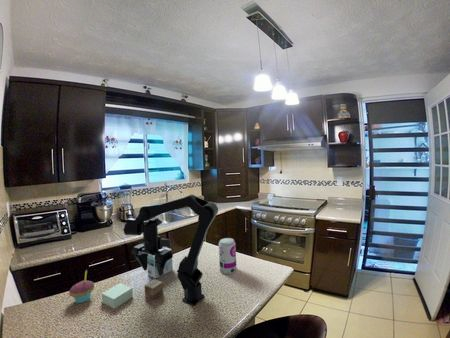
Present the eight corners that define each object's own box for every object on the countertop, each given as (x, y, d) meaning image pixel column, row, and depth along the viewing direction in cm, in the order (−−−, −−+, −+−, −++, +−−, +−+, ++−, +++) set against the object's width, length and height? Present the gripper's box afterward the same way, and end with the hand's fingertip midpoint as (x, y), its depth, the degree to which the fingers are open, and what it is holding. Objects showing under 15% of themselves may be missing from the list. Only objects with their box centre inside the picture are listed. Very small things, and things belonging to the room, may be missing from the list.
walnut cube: (163, 293, 89) (162, 282, 89) (153, 300, 85) (152, 288, 85) (154, 290, 92) (154, 279, 92) (145, 297, 88) (144, 285, 88)
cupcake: (92, 290, 94) (90, 263, 93) (97, 299, 88) (95, 270, 87) (68, 300, 88) (66, 271, 87) (72, 309, 82) (70, 279, 81)
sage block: (132, 297, 88) (132, 287, 88) (114, 309, 81) (113, 299, 81) (120, 292, 92) (120, 283, 92) (102, 303, 85) (101, 293, 85)
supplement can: (239, 268, 107) (238, 239, 107) (231, 276, 100) (229, 244, 100) (225, 265, 112) (224, 236, 111) (216, 272, 105) (215, 242, 104)
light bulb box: (155, 279, 101) (154, 257, 100) (147, 275, 105) (145, 253, 104) (173, 269, 109) (172, 248, 109) (165, 266, 113) (164, 246, 113)
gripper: (181, 232, 90) (183, 269, 90) (151, 226, 99) (153, 260, 100) (160, 241, 80) (163, 282, 81) (129, 234, 90) (132, 271, 91)
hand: (153, 272), depth 88 cm, fingers open, 9 cm apart
